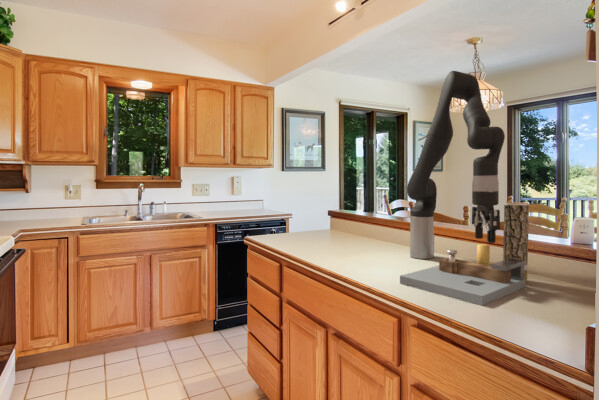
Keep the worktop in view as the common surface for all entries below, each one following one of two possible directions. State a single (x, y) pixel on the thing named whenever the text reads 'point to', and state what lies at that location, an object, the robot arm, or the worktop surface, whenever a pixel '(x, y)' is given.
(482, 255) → the pin
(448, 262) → the link
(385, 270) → the worktop surface
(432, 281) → the board
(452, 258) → the pintle
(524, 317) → the worktop surface
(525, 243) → the brown bark-textured cylinder
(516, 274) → the keeper
